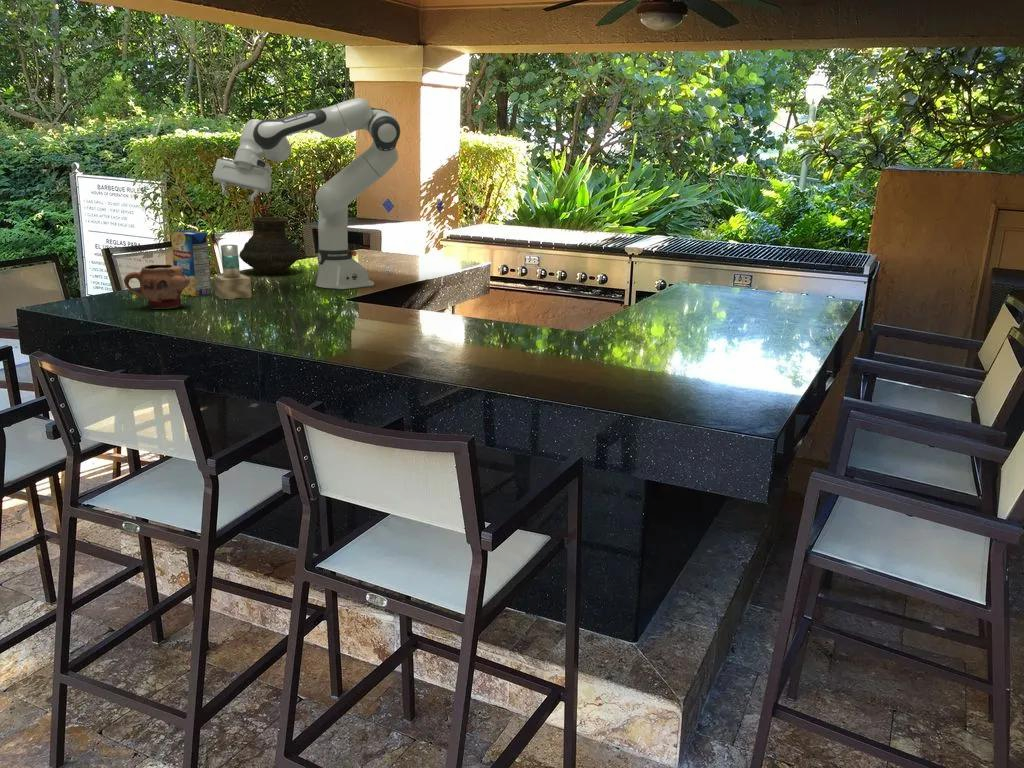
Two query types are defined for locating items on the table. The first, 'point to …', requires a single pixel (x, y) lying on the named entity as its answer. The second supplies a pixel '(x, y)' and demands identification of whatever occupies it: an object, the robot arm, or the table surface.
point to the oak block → (232, 287)
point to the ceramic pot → (269, 246)
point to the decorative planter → (160, 285)
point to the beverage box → (192, 260)
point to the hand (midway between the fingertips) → (237, 197)
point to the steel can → (230, 261)
